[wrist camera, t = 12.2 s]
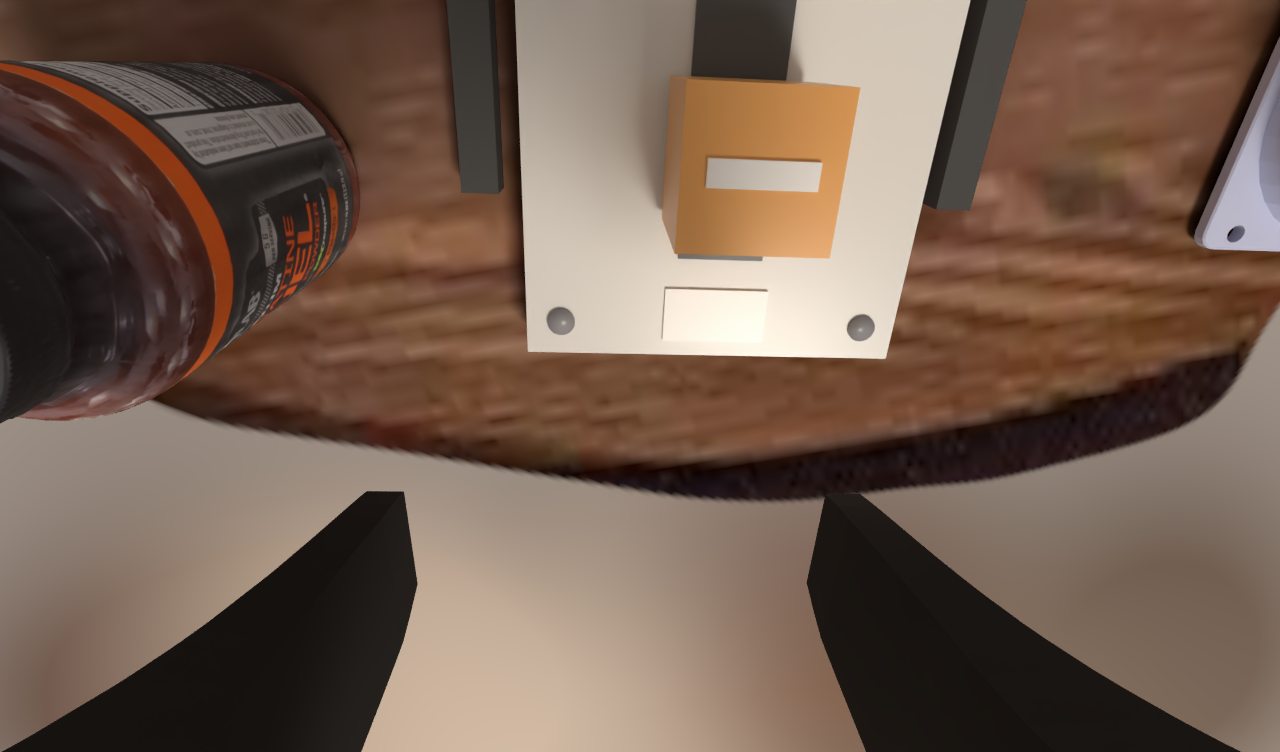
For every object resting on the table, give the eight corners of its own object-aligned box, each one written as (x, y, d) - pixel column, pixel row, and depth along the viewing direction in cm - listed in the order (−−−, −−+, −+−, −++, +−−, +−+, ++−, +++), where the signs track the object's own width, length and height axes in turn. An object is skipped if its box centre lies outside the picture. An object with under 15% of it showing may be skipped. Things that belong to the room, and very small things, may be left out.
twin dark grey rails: (1038, -127, 16) (1064, -138, 15) (952, 203, 19) (969, 210, 18) (442, -169, 15) (432, -184, 14) (468, 185, 18) (461, 192, 17)
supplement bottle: (334, 312, 20) (50, 578, 10) (126, 222, 18) (-465, 425, 8) (398, 132, 18) (117, 230, 7) (168, 13, 16) (-574, -66, 6)
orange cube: (810, 81, 16) (862, 87, 13) (789, 222, 17) (831, 259, 14) (670, 74, 16) (687, 79, 12) (661, 218, 17) (675, 255, 14)
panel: (1029, -396, 14) (1080, -450, 12) (867, 339, 21) (886, 360, 20) (507, -448, 13) (495, -511, 11) (532, 332, 20) (527, 352, 19)
